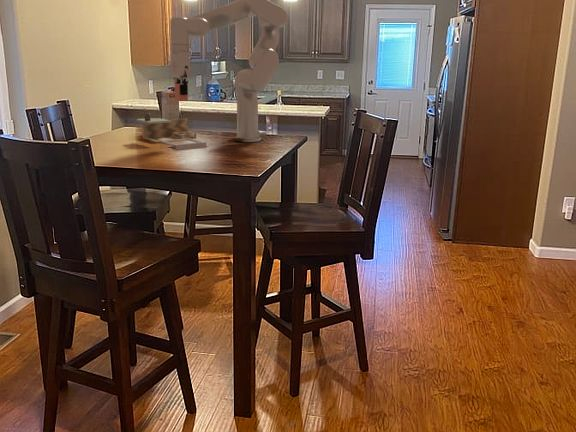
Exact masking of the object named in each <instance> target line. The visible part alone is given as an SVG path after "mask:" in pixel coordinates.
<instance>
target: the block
mask: <svg viewBox="0 0 576 432" xmlns="http://www.w3.org/2000/svg"><path fill="white" fill-rule="evenodd" d="M180 85H181V84H174V92H175V101H179V102H188V101H189V94H188V95H180Z"/></svg>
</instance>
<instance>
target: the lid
mask: <svg viewBox="0 0 576 432" xmlns="http://www.w3.org/2000/svg"><path fill="white" fill-rule="evenodd" d="M136 122H141V123H142V122H144V123H148V124H154V123H171V120H166V119H162V118H160V117H151V113H150V112H149V113H147V112H145V113H144V118H136Z"/></svg>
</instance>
